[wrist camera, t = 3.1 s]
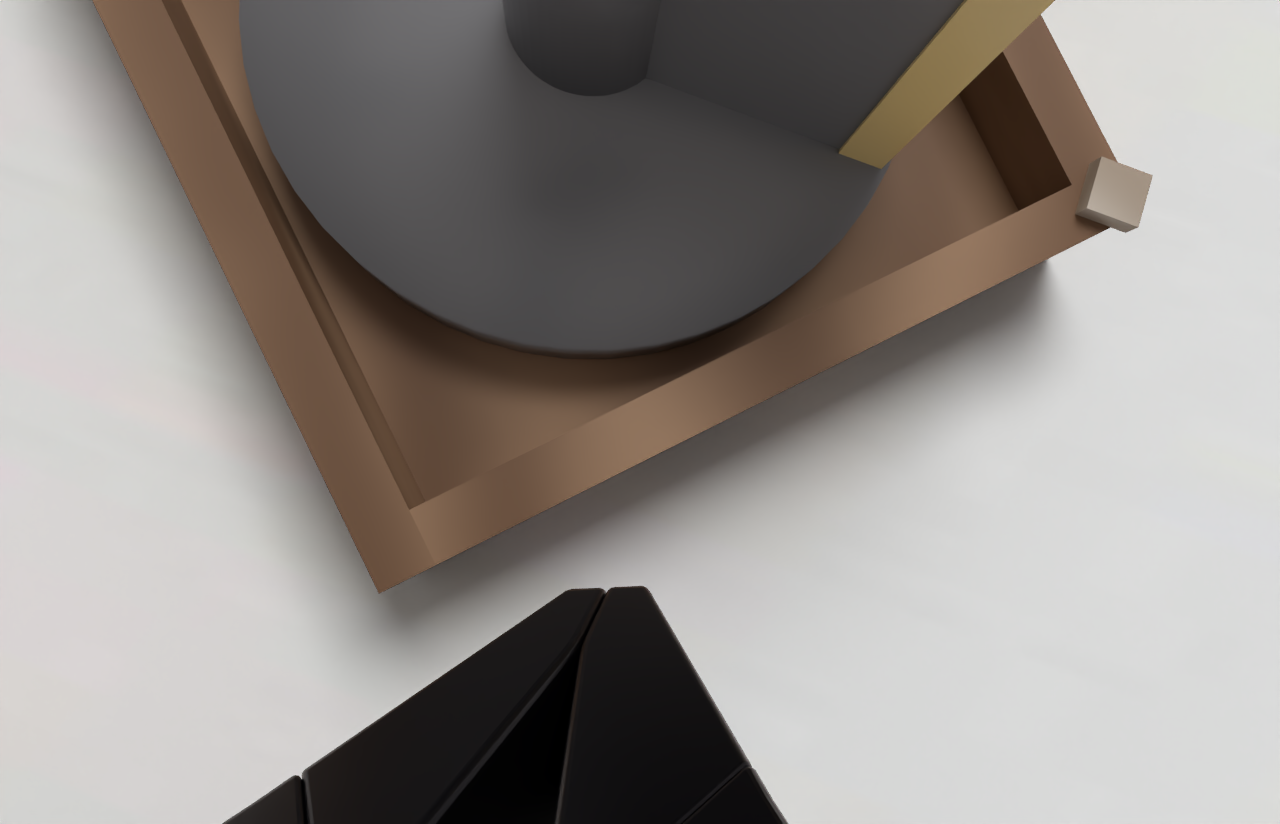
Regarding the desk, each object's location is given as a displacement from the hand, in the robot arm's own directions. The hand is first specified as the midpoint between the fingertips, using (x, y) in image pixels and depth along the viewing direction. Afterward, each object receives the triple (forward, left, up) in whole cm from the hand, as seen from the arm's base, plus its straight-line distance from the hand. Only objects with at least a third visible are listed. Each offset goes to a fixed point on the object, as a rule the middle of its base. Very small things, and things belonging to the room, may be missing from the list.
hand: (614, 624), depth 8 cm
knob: (+5, +10, -10) cm, 15 cm away
